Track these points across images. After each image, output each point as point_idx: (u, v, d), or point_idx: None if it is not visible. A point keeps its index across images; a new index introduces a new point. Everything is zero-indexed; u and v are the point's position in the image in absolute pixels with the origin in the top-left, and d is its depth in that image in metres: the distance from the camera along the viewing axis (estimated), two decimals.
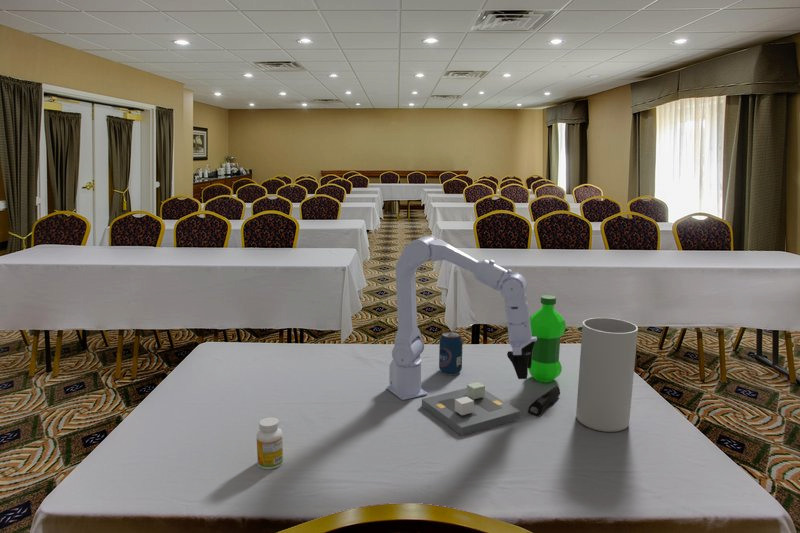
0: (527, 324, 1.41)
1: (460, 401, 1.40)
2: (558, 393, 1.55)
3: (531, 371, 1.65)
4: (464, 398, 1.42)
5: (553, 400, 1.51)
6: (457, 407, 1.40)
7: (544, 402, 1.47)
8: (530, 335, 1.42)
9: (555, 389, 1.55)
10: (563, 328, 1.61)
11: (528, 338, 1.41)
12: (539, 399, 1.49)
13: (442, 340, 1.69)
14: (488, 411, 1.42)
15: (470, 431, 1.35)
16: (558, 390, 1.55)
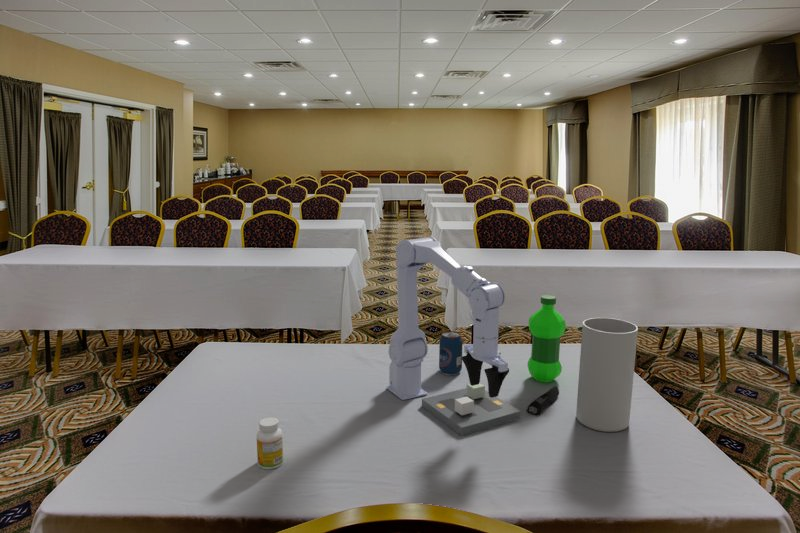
0: None
1: (460, 401, 1.40)
2: (557, 393, 1.55)
3: (531, 371, 1.65)
4: (464, 398, 1.42)
5: (552, 400, 1.51)
6: (457, 407, 1.40)
7: (543, 402, 1.48)
8: None
9: (554, 389, 1.55)
10: (563, 328, 1.61)
11: (497, 352, 1.32)
12: (538, 399, 1.49)
13: (442, 340, 1.69)
14: (488, 411, 1.42)
15: (470, 431, 1.35)
16: (557, 390, 1.55)
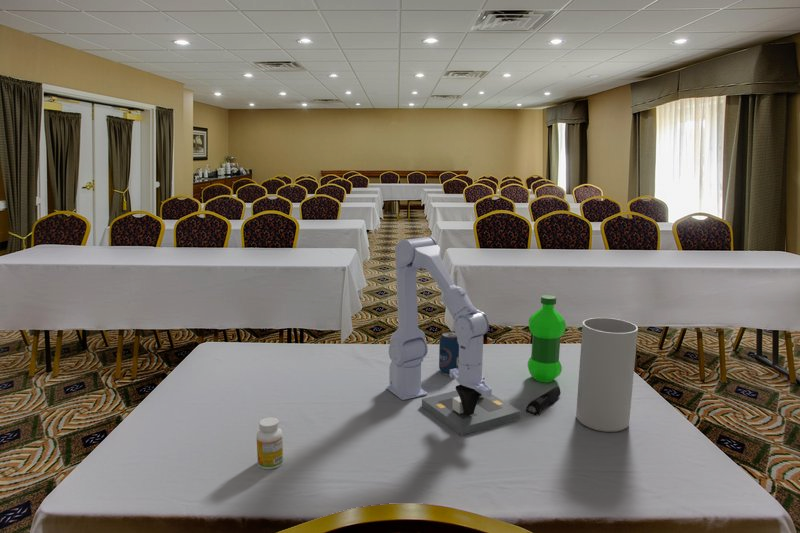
0: None
1: (458, 399, 1.41)
2: (558, 393, 1.55)
3: (531, 371, 1.65)
4: None
5: (552, 400, 1.51)
6: (455, 406, 1.41)
7: (543, 402, 1.48)
8: None
9: (555, 389, 1.55)
10: (563, 328, 1.61)
11: (481, 377, 1.37)
12: (538, 399, 1.49)
13: (442, 340, 1.69)
14: (488, 411, 1.42)
15: (470, 431, 1.35)
16: (558, 390, 1.55)
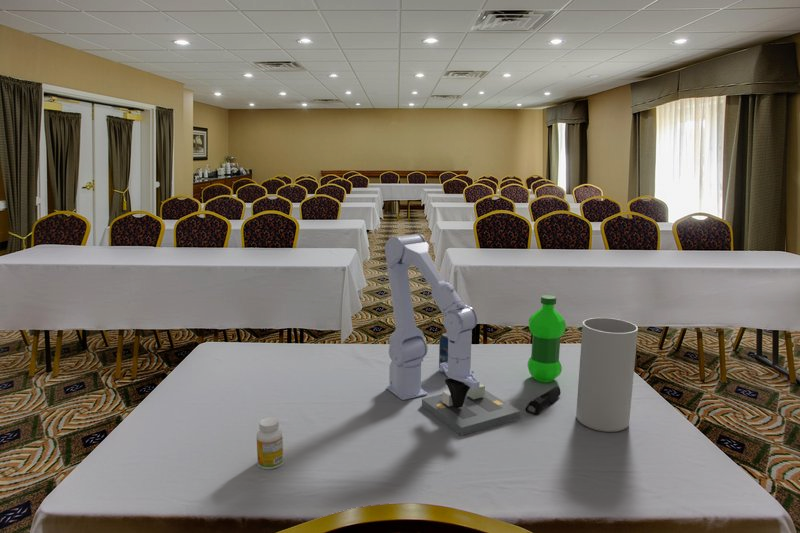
0: None
1: (447, 393, 1.45)
2: (558, 393, 1.55)
3: (531, 371, 1.65)
4: None
5: (552, 400, 1.51)
6: (445, 399, 1.45)
7: (542, 401, 1.48)
8: None
9: (555, 389, 1.55)
10: (563, 328, 1.61)
11: (470, 371, 1.41)
12: (538, 398, 1.49)
13: (442, 340, 1.69)
14: (488, 411, 1.42)
15: (470, 431, 1.35)
16: (558, 390, 1.55)
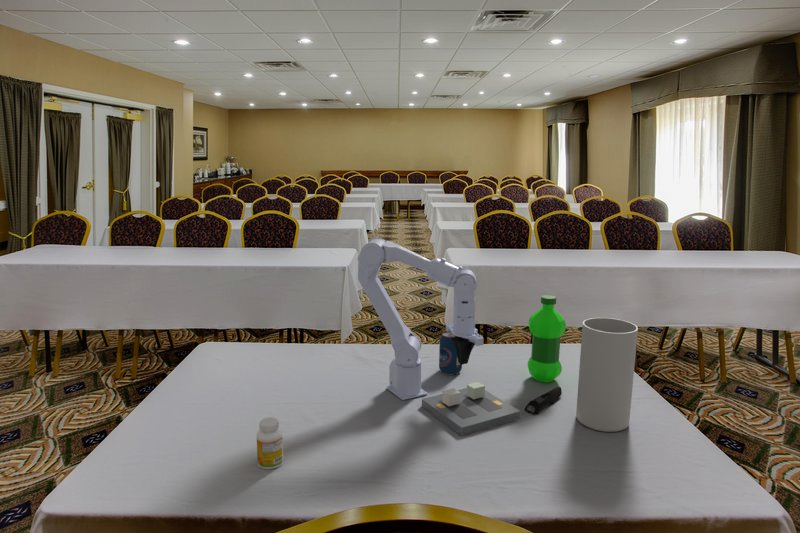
0: None
1: (447, 393, 1.45)
2: (559, 393, 1.54)
3: (531, 371, 1.65)
4: (451, 390, 1.47)
5: (553, 400, 1.51)
6: (445, 399, 1.45)
7: (542, 401, 1.48)
8: None
9: (556, 389, 1.55)
10: (563, 328, 1.61)
11: (474, 329, 1.52)
12: (538, 398, 1.50)
13: (442, 340, 1.69)
14: (488, 411, 1.42)
15: (470, 431, 1.35)
16: (559, 390, 1.55)
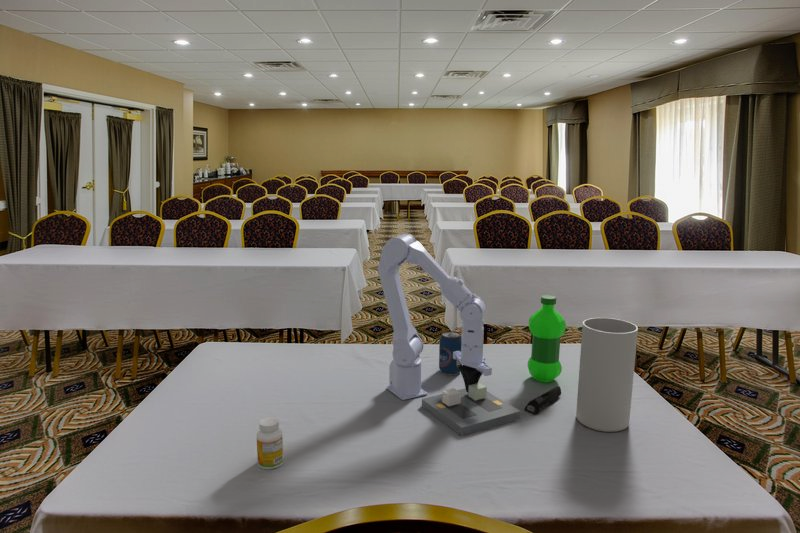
0: None
1: (447, 393, 1.45)
2: (559, 393, 1.55)
3: (531, 371, 1.65)
4: (451, 390, 1.47)
5: (552, 400, 1.51)
6: (445, 399, 1.45)
7: (542, 401, 1.48)
8: None
9: (556, 389, 1.55)
10: (563, 328, 1.61)
11: (482, 358, 1.50)
12: (537, 398, 1.50)
13: (442, 340, 1.69)
14: (488, 411, 1.42)
15: (470, 431, 1.35)
16: (559, 390, 1.55)
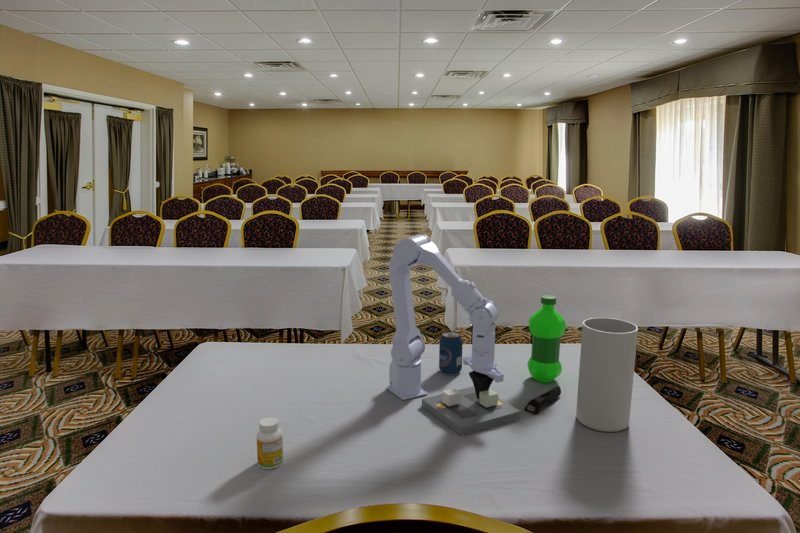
0: None
1: (447, 393, 1.45)
2: (559, 393, 1.55)
3: (531, 371, 1.65)
4: (451, 390, 1.47)
5: (552, 399, 1.51)
6: (445, 399, 1.45)
7: (542, 401, 1.48)
8: None
9: (556, 389, 1.55)
10: (563, 328, 1.61)
11: (493, 364, 1.46)
12: (537, 398, 1.50)
13: (442, 340, 1.69)
14: (488, 411, 1.42)
15: (470, 431, 1.35)
16: (559, 390, 1.55)
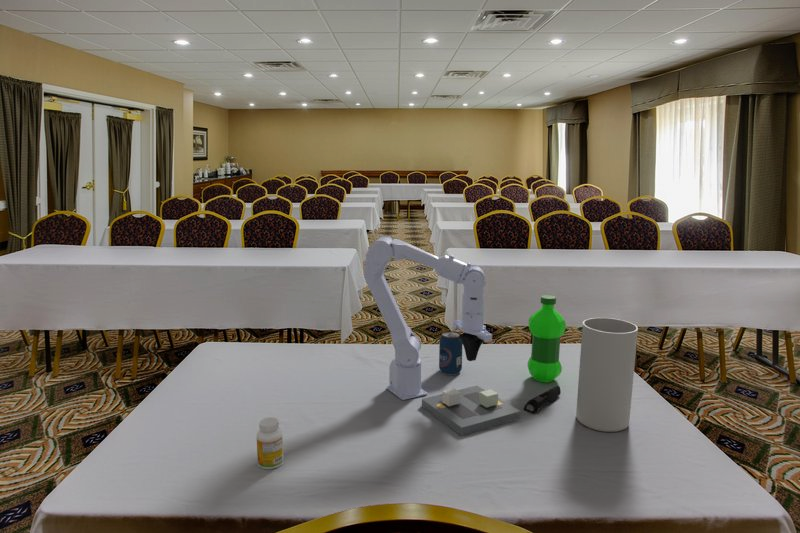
0: None
1: (447, 393, 1.45)
2: (558, 392, 1.55)
3: (531, 371, 1.65)
4: (451, 390, 1.47)
5: (552, 399, 1.52)
6: (445, 399, 1.45)
7: (541, 400, 1.48)
8: None
9: (555, 388, 1.55)
10: (563, 328, 1.61)
11: (483, 326, 1.52)
12: (537, 397, 1.50)
13: (442, 340, 1.69)
14: (488, 411, 1.42)
15: (470, 431, 1.35)
16: (558, 390, 1.56)
